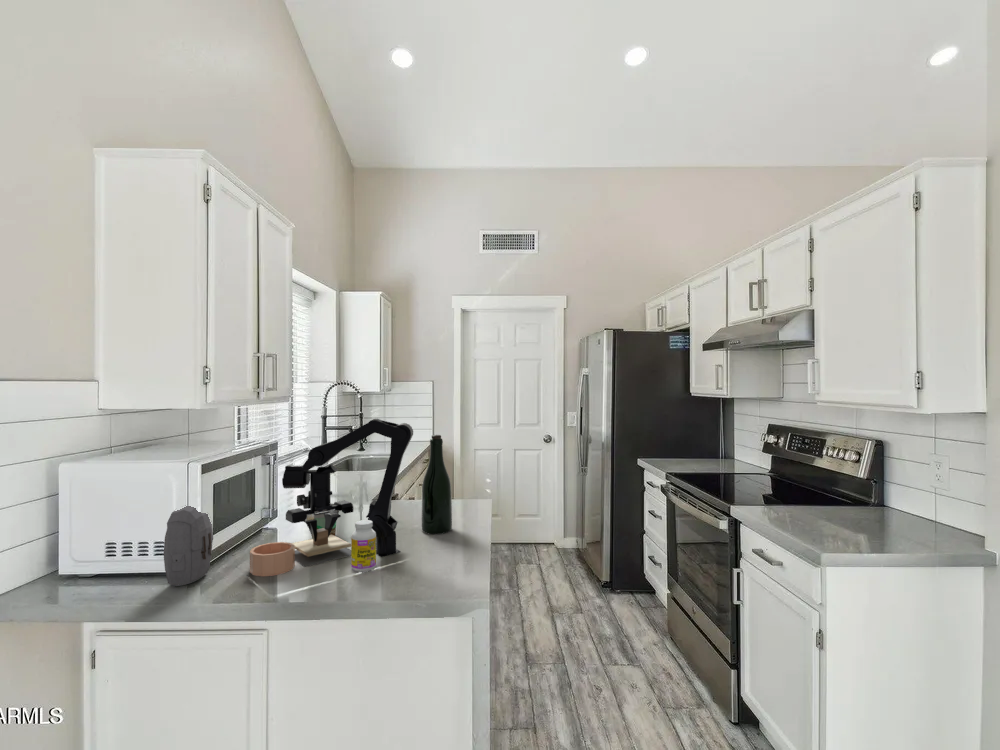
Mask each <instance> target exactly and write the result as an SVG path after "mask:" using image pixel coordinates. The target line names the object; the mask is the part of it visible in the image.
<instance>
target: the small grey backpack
mask: <svg viewBox="0 0 1000 750" xmlns="http://www.w3.org/2000/svg"><path fill="white" fill-rule="evenodd" d="M185 506H186V505H185ZM208 514H209V513H208ZM208 514H206V513H201V512H198V511H197V510H196V508H194V507H191V506H186V507H184V508H182V509H180V510H177V511H175V510H173V511H172V512H171V514H170V516H169V518H168V520H167V522H166V531H165V534H164V542H163V543H164V544H163V563H164V565H163V566H164V571H165V575H166V580H167V584H168V585H169V586H175V587H178V586H185V585H188V584H191V583H194V582H196V581H198V580H200V579H201V578H203V577H204V576H205V575H207V573H208V572H209V570H210V564H211V561H212V560H211V559H212V555H213V553H212V552H213V542H214V541H213V540H214V530H213V529H214V528H213V523H212V524H211V522H212V521H211V522H210V519H209V517H208Z"/></svg>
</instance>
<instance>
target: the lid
mask: <svg viewBox="0 0 1000 750" xmlns="http://www.w3.org/2000/svg"><path fill="white" fill-rule="evenodd" d="M291 543H292V544H293V545H295V550H298V551H299V552H301V553H303V554H304V555H306V556H308V557H309V556H313V555H317V554H322V553H326V552H330V551H334V550H339V549H343V548H351V543H350V542H348V541H346V540H344V539H342V538H340V537H338V536H336V535H335V536H334V535H329V537H328V530H327V529H324V528H321V529H317V539H316V542H314V541H313V539H312V538H310V539H304V540H299V541H295V542H291Z"/></svg>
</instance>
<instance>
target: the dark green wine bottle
mask: <svg viewBox="0 0 1000 750" xmlns="http://www.w3.org/2000/svg"><path fill="white" fill-rule="evenodd" d="M443 444H444V441H443V438H442V435H441V434H433V435H431V438H430V440H429V445H430V450H429V461H428V465H427V468H426V471H425V474H424V475H423V479H422V486H421V487H422V488H421V531H422V532H423V533H424V534H428V533H429V535H441V534H442V533H443V534H446V532H447V533H449V532H450V531H452V529H453V503H452V502H453V501H452V499H453V498H452V485H451V483H452V482H451V479H450V475H449V472H448V471H447V468H446V465H445V461H444V451H443V450H444V449H443V447H444V446H443Z"/></svg>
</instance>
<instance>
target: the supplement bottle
mask: <svg viewBox="0 0 1000 750" xmlns="http://www.w3.org/2000/svg"><path fill="white" fill-rule="evenodd" d="M372 526H373V522H372V521H371V520H368V519H362V520H357V521H355V523H354V528H355V530H354V531H353V532H352V533H351V535H350V536H351V537H350V538H351V541H350V542H351V543H350V544H351V547H350V548H351V549H350V550H351V556H350V558H351V559H350V560H351V563H350V567H351V570H352V571H354V572H359V573H367V572H369V571H373V570H374V569H375V568H376V566H377V554H376V532H375V531H374V530H373V529H372Z"/></svg>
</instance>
